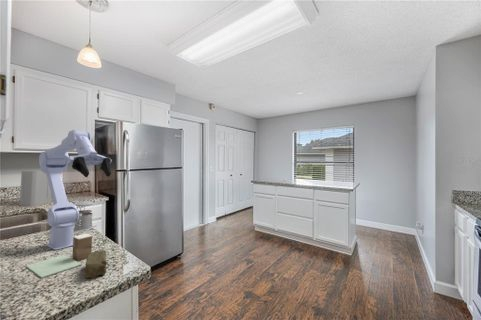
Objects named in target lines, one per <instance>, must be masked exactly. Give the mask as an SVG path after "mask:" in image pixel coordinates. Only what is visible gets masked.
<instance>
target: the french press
mask: <svg viewBox="0 0 481 320" xmlns="http://www.w3.org/2000/svg"><path fill="white" fill-rule="evenodd" d="M82 186H83V187H84V188H86V187H88V184H87V183H83V185H82ZM83 199H84V200H83V201H79V202H77V203H75V204H74V205H75V206H76V208H77V210H78V209H79V210H78V211H79V219H78V221H77V222H76V224H74V231H83V232H85V231H84V230H88V231H90V230H89V229H91V227H92V228H95V227H94V226H93V212H92V211H93V210H90V209H86V208H85V207H89V206H93V205H94V202H92V201H89V200H86V195H84V198H83ZM82 209H83V210H82ZM74 231H73V232H74Z"/></svg>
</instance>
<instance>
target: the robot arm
mask: <svg viewBox="0 0 481 320" xmlns="http://www.w3.org/2000/svg"><path fill="white" fill-rule="evenodd" d="M74 150H75V151H76V152H77V155H70V156H69V151H74ZM38 159H39V160H38V163H39V166H40V168H39V169H40V171H42V172H44V173H46V175H47V179H48V183H49V187H50V191H51V195H52V197H51V200H52V203H53V205H52V206H50V208H49V209H48V211H47V213H46V214H47V215H46V216H47V224H48V225H49V226H50V230H49V238H48V239H49V240H48V243H46V245H45V246H47V247H48V248H50V249H53V250H54V251H57V250H61V249H65V248H68V247H73V236H74V228H75V224H76V222H77V221H78V219H79V211H80V210H78V209H77V206H76V205H75V204H73V203H71V202H69V200H68V197H67V194H66V190H65V185H64V182H63V179H62V174H63V173H64V172H65V173H66V171H67V168H68V166H69V165H68V164H70V165H71V164H72V165H71V167H72V169H73V170H76V171H77V172H79V173H80V174H81V175H83V177H85V178H88V177H89V176H90V175H89V174H90V171H89V168H88V167H90V166H96V165H100V164H101V165H100V168H99V169H100V170H101V171H103V173H104V174H105V176H106V177H108V178H109V177H110V176H111V174H112V171H111V163H112V160H113V159H111V158H110V157H106V156H104V155H101V154H98V151H96V150H95V148H94V146H93V143H92V142H91V134H90V132H88V131H83V130H76V129H72V130H69V131H68V133H67V136H66V137H65V138H63V139H62V140H61V142H60V144H58V145H57V146H55V147H52V148H48V149H45V150H44V151H42V152H41V153H40V154H39V157H38Z"/></svg>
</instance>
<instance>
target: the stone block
mask: <svg viewBox="0 0 481 320" xmlns="http://www.w3.org/2000/svg"><path fill="white" fill-rule="evenodd" d="M106 273H107V250H106V249H105V250H104V249H102V250H99V251H91V253H90V254H88V256H87V259H86V261H85V272H84V276H85V279H93V278H96V277H99V276H100V275H105V274H106Z"/></svg>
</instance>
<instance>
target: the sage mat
mask: <svg viewBox="0 0 481 320" xmlns="http://www.w3.org/2000/svg"><path fill="white" fill-rule="evenodd" d="M82 265H83V264H82V263H81V262H80V261H76V260H75V259H73V258H71V257H70V256H67V255H66V254H63V255H60V256H55V257H52V258H48V259H44V260H42V261H38V262H35V263H31V264H28V265H26V266H25V267H26V268H27V269H29V270H30V271H31V272H32V273H33V274H35V275H36V276H37V277H39V278H40V279H44V278H48V277H51V276H53V275H57V274H59V273H63V272H66V271H68V270H71V269H74V268H78V267H80V266H82Z"/></svg>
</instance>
